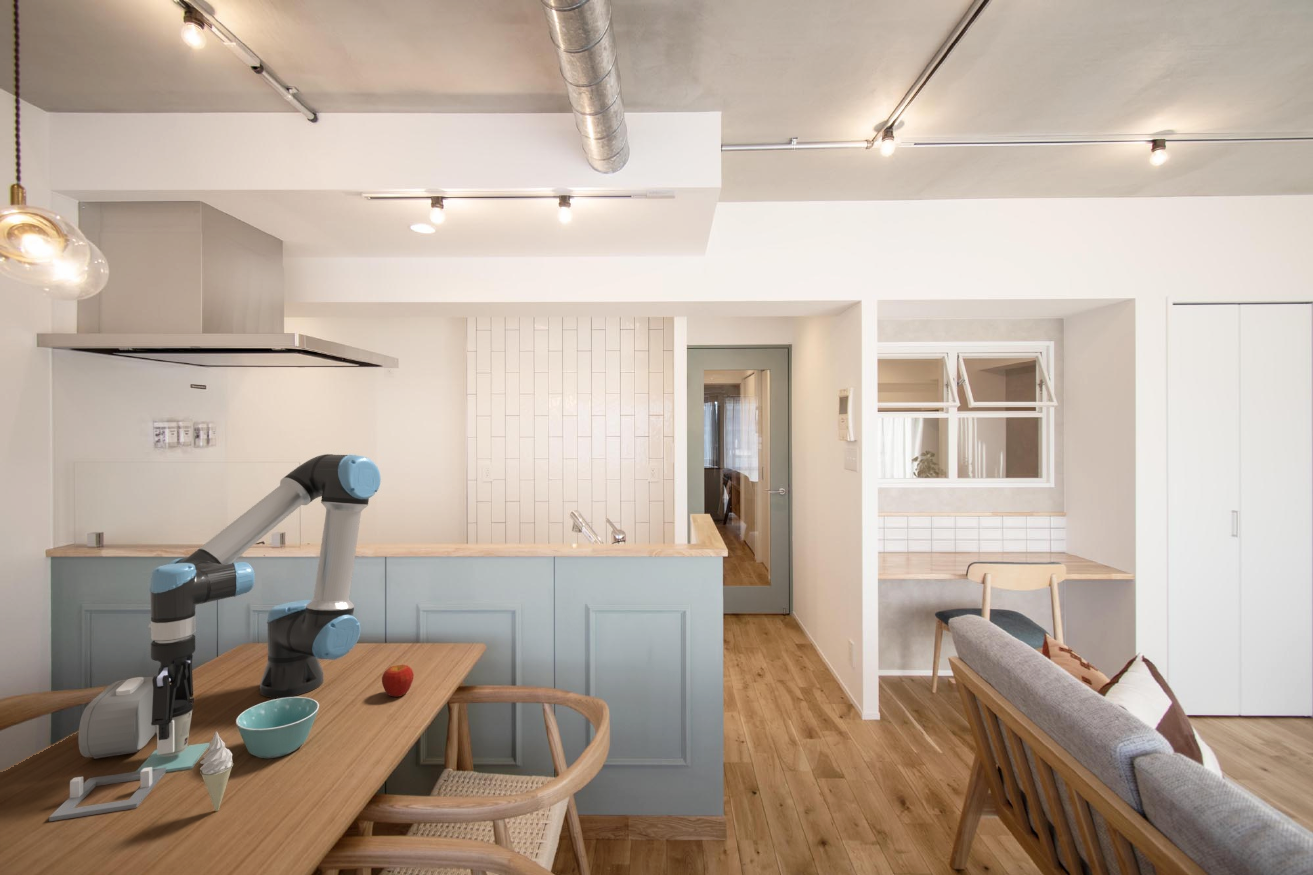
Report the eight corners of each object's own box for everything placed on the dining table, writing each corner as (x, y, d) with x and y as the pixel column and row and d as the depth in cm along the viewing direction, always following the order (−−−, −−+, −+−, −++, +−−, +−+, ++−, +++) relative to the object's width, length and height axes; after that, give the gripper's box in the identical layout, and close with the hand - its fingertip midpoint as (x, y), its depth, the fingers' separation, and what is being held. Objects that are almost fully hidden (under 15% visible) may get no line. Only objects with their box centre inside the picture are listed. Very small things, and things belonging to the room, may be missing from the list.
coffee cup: (201, 746, 133) (200, 701, 133) (164, 762, 127) (164, 714, 126) (182, 739, 136) (182, 694, 136) (145, 754, 130) (145, 707, 129)
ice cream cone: (211, 802, 117) (211, 724, 116) (239, 801, 117) (239, 723, 117) (193, 819, 112) (193, 738, 111) (222, 818, 112) (222, 737, 112)
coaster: (209, 745, 138) (209, 742, 138) (191, 768, 128) (191, 765, 128) (155, 752, 134) (155, 749, 134) (133, 776, 125) (133, 774, 125)
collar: (166, 771, 127) (166, 751, 127) (136, 807, 115) (136, 786, 115) (89, 782, 123) (89, 762, 123) (49, 821, 111) (49, 799, 111)
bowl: (334, 737, 142) (334, 702, 141) (272, 773, 127) (272, 734, 127) (284, 726, 147) (284, 692, 147) (218, 759, 132) (218, 721, 132)
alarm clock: (120, 725, 146) (120, 670, 146) (169, 719, 150) (169, 664, 150) (77, 770, 127) (76, 706, 127) (134, 761, 131) (133, 699, 130)
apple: (375, 697, 163) (375, 668, 163) (398, 686, 170) (398, 658, 170) (397, 702, 160) (397, 673, 160) (419, 690, 167) (419, 662, 167)
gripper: (172, 624, 139) (172, 725, 139) (129, 655, 120) (129, 771, 121) (211, 621, 142) (211, 720, 142) (174, 651, 123) (175, 764, 123)
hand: (173, 743), depth 131 cm, fingers closed on coffee cup, 7 cm apart
